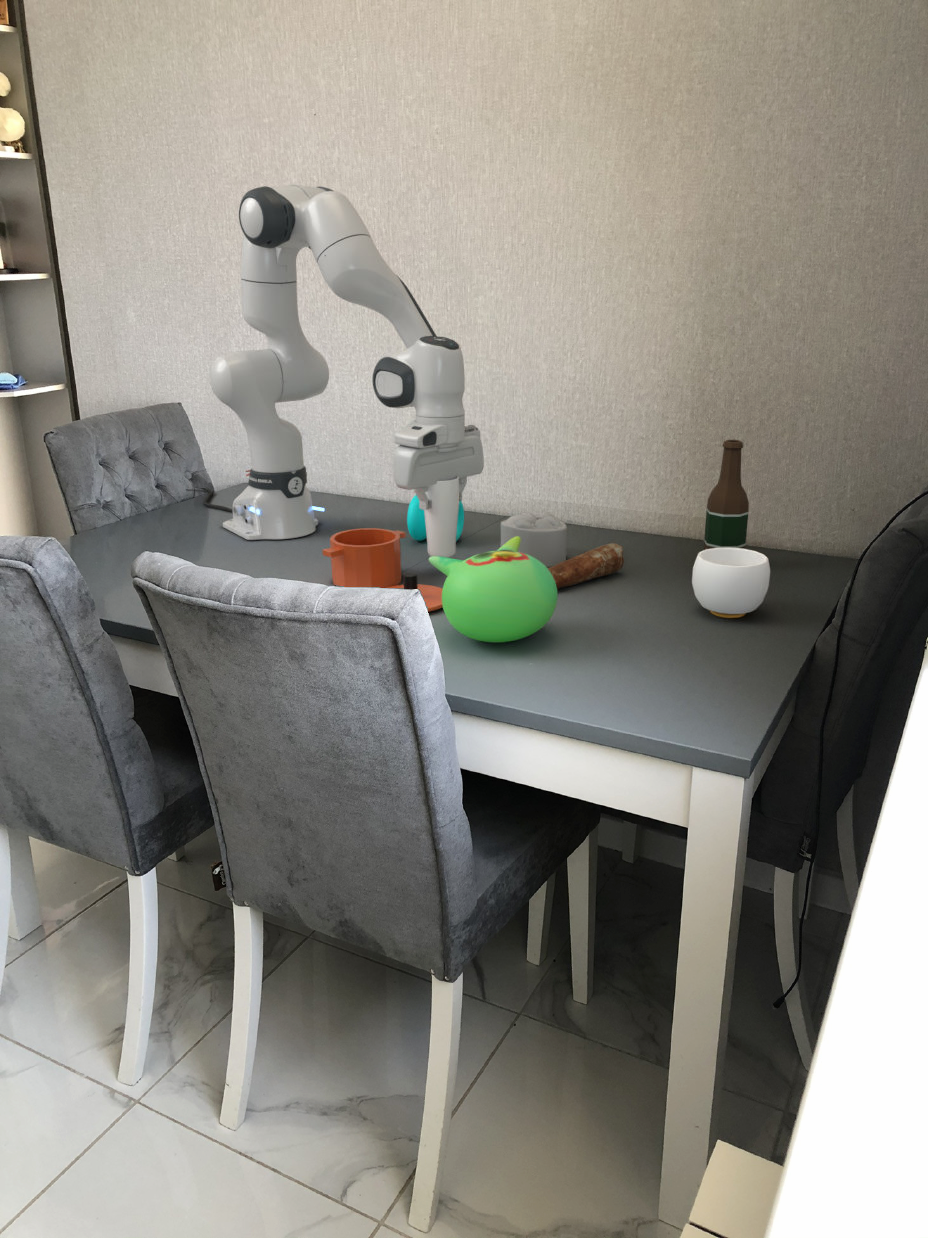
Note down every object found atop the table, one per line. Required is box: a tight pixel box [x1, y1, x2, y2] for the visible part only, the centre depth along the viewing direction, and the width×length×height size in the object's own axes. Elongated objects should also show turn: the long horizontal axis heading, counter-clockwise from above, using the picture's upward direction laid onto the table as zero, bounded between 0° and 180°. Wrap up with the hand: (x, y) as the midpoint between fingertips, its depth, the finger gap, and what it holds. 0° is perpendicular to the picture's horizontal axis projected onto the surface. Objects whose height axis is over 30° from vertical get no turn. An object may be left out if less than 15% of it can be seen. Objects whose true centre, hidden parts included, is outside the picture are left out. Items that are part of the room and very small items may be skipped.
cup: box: [691, 548, 771, 619], centre depth 160 cm, size 12×12×10 cm
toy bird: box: [428, 536, 558, 643], centre depth 149 cm, size 18×17×15 cm
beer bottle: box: [702, 439, 750, 551], centre depth 182 cm, size 8×8×24 cm
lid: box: [387, 572, 443, 612], centre depth 167 cm, size 14×14×5 cm
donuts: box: [406, 494, 465, 542], centre depth 203 cm, size 10×10×10 cm
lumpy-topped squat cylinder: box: [500, 511, 568, 568], centre depth 190 cm, size 10×13×9 cm
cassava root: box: [547, 542, 625, 590], centre depth 177 cm, size 6×19×6 cm, turn 128°
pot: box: [322, 527, 407, 588], centre depth 178 cm, size 13×18×8 cm
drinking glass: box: [424, 476, 459, 558], centre depth 180 cm, size 7×7×15 cm
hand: (441, 505), depth 179 cm, fingers closed on drinking glass, 7 cm apart
